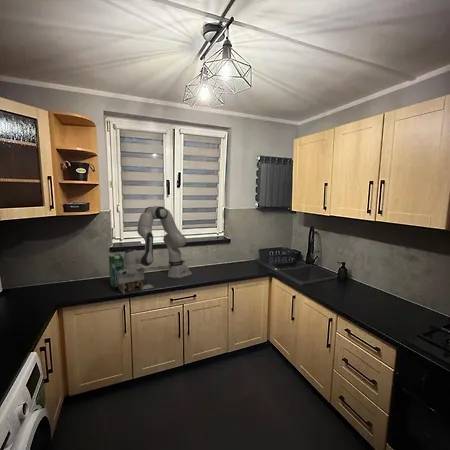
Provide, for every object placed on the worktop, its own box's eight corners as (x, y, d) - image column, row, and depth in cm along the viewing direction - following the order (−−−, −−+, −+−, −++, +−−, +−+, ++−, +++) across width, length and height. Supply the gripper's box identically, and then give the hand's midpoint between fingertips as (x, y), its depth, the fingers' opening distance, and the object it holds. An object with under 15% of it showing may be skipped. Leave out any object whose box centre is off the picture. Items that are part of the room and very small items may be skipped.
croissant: (137, 285, 211) (137, 278, 210) (142, 289, 201) (142, 282, 201) (118, 289, 202) (118, 282, 201) (123, 293, 192) (123, 286, 192)
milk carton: (113, 287, 205) (111, 257, 202) (110, 284, 212) (108, 255, 209) (124, 285, 211) (123, 255, 208) (121, 282, 218) (120, 253, 215)
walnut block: (133, 287, 205) (132, 280, 204) (135, 289, 201) (134, 282, 200) (126, 289, 202) (126, 282, 201) (128, 291, 198) (128, 283, 197)
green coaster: (149, 284, 212) (149, 284, 212) (153, 287, 206) (153, 286, 206) (140, 286, 207) (140, 286, 207) (144, 289, 201) (144, 289, 201)
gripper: (142, 266, 208) (142, 283, 209) (116, 271, 195) (116, 288, 197) (145, 268, 203) (145, 285, 204) (118, 273, 190) (119, 291, 192)
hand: (131, 287), depth 200 cm, fingers open, 8 cm apart
